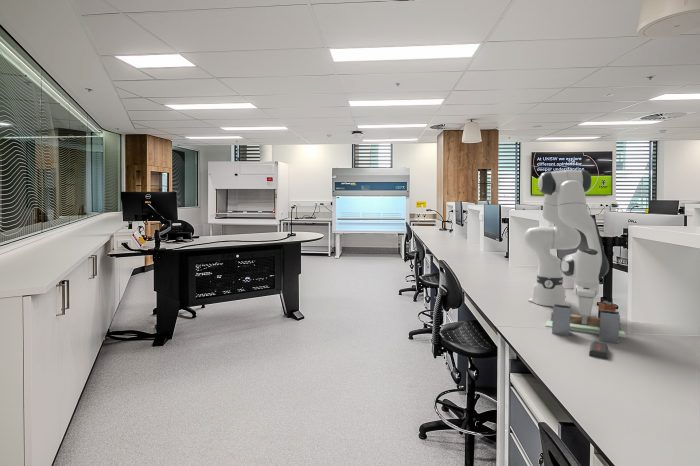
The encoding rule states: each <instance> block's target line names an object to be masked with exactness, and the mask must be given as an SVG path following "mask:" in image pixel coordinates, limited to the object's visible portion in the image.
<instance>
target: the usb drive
mask: <svg viewBox="0 0 700 466" xmlns="http://www.w3.org/2000/svg"><path fill="white" fill-rule="evenodd" d="M608 352H609V346H608V345H607V344H606V342H603V341H593V342H591V343H590V347H589V352H588V356H589V357H594V358H598V359H604V360H608Z"/></svg>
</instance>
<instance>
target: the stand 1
mask: <svg viewBox="0 0 700 466" xmlns="http://www.w3.org/2000/svg"><path fill="white" fill-rule="evenodd" d="M552 312H553V322H552V327H551V334H555V335H561V336H567V337H569V336H570V332H571V330H570V324H571V323H570V316H571V313H572V306H571V305H569V306H567V305H559V304H554V306H552Z"/></svg>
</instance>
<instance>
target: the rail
mask: <svg viewBox="0 0 700 466" xmlns="http://www.w3.org/2000/svg"><path fill="white" fill-rule="evenodd" d="M550 314H551V316H550V321H553V311H551V313H550ZM570 324H575V325H582V326H589V327H596V328H599V324H600V318H598V317H593V316H590V317H587V324H582V316H580V314H573V313H572V314H571V316H570ZM619 331H621V322H620V323H619Z"/></svg>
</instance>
